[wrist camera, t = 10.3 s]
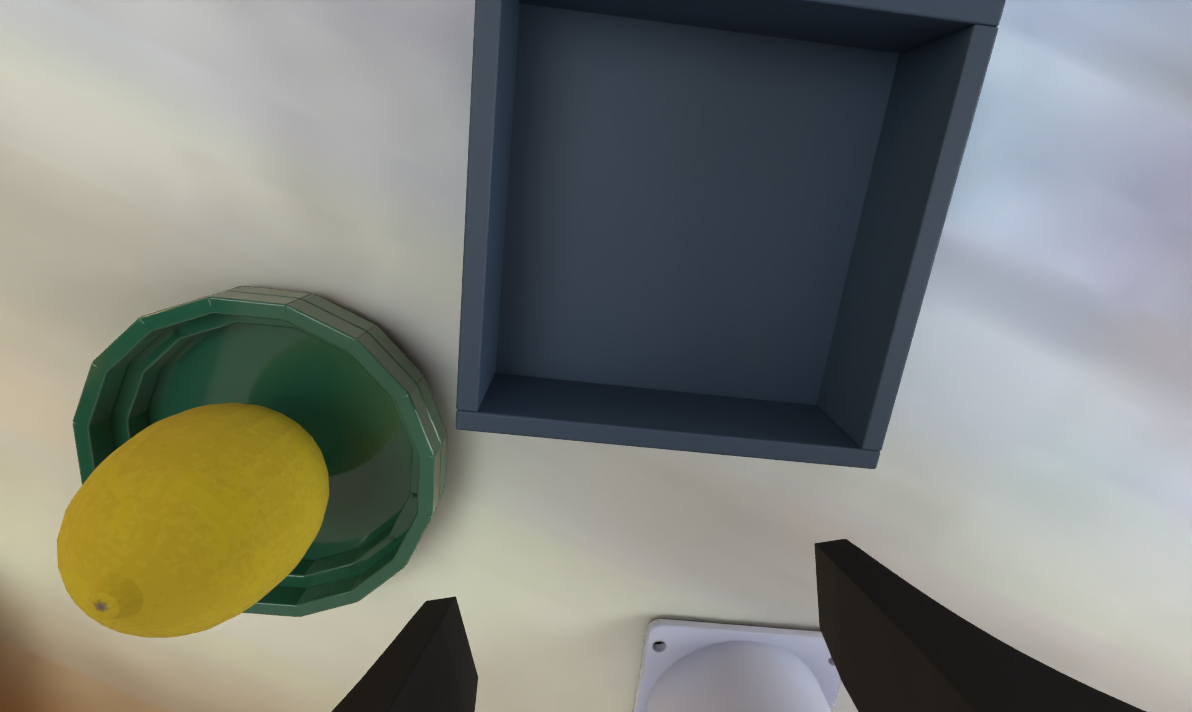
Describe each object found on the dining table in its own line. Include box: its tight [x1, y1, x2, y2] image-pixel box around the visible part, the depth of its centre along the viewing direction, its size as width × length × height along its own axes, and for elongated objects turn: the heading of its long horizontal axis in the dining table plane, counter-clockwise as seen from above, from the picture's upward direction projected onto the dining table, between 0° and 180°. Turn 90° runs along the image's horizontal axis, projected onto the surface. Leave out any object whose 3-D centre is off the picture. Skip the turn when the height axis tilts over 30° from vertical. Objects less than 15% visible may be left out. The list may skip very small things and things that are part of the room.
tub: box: [456, 0, 1005, 469], centre depth 17 cm, size 12×12×4 cm
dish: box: [73, 286, 447, 617], centre depth 20 cm, size 11×11×2 cm
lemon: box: [57, 403, 329, 637], centre depth 16 cm, size 6×6×8 cm
